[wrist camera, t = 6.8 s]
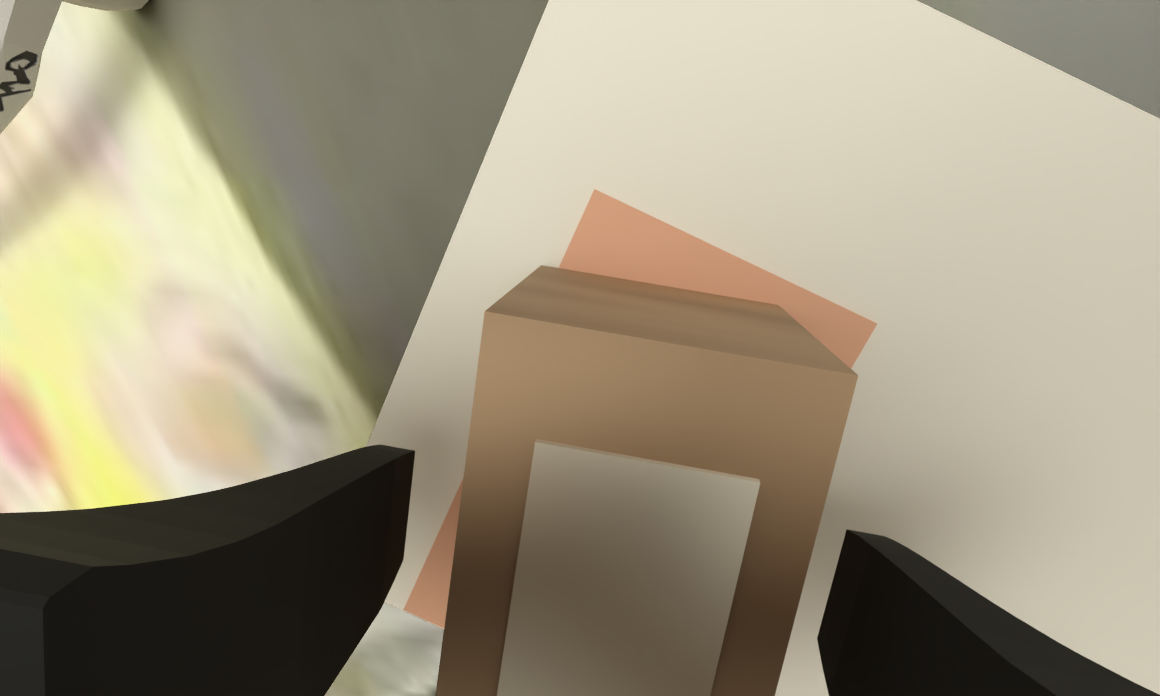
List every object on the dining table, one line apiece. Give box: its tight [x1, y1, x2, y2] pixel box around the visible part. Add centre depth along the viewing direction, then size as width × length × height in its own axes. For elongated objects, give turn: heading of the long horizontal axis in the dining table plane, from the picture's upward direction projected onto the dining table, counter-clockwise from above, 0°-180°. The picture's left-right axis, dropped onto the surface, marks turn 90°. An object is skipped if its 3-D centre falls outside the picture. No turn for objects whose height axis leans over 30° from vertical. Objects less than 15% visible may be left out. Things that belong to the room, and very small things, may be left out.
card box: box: [436, 265, 858, 696], centre depth 12 cm, size 8×4×5 cm, turn 171°
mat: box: [366, 0, 1160, 696], centre depth 14 cm, size 17×15×1 cm
